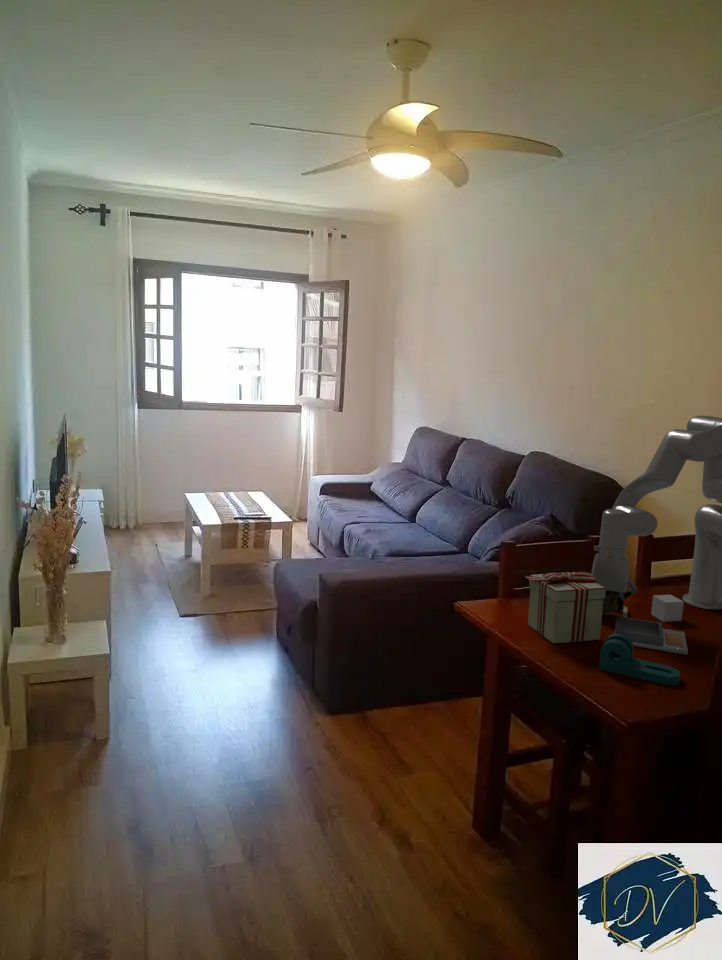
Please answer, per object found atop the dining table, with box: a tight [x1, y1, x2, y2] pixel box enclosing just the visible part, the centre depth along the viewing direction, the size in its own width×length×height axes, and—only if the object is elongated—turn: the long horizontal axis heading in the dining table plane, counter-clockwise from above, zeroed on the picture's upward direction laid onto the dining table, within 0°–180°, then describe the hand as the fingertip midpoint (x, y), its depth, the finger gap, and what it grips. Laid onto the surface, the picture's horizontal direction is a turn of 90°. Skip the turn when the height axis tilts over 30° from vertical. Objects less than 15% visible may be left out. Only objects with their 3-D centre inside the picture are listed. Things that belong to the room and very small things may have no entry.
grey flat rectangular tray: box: [614, 615, 689, 655], centre depth 196 cm, size 14×18×3 cm
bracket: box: [598, 632, 681, 686], centre depth 175 cm, size 18×7×8 cm, turn 61°
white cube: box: [650, 594, 685, 623], centre depth 213 cm, size 6×6×6 cm
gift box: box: [524, 570, 606, 645], centre depth 198 cm, size 17×18×17 cm
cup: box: [602, 591, 620, 617], centre depth 212 cm, size 8×7×8 cm
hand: (605, 609), depth 213 cm, fingers closed on cup, 6 cm apart
